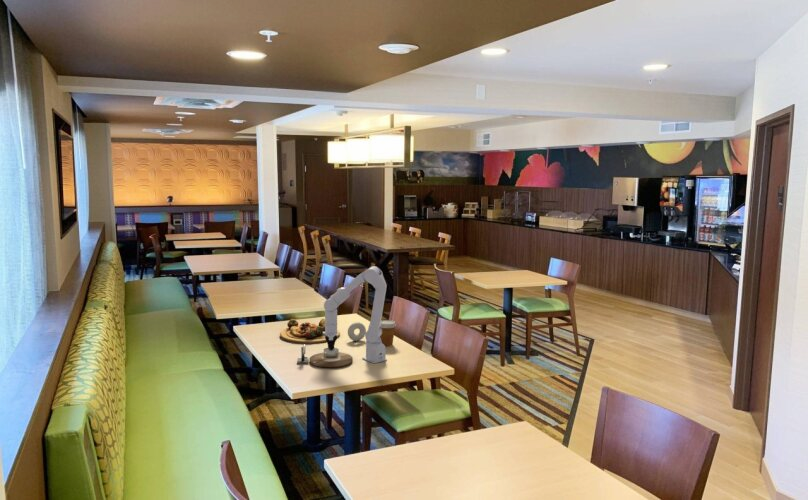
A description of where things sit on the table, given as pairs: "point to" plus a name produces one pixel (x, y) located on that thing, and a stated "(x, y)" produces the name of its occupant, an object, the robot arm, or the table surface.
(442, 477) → the table surface
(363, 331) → the donut
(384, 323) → the disposable coffee cup
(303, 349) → the dial gauge
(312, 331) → the wooden plate with food
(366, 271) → the robot arm
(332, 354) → the cover
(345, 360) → the turntable
